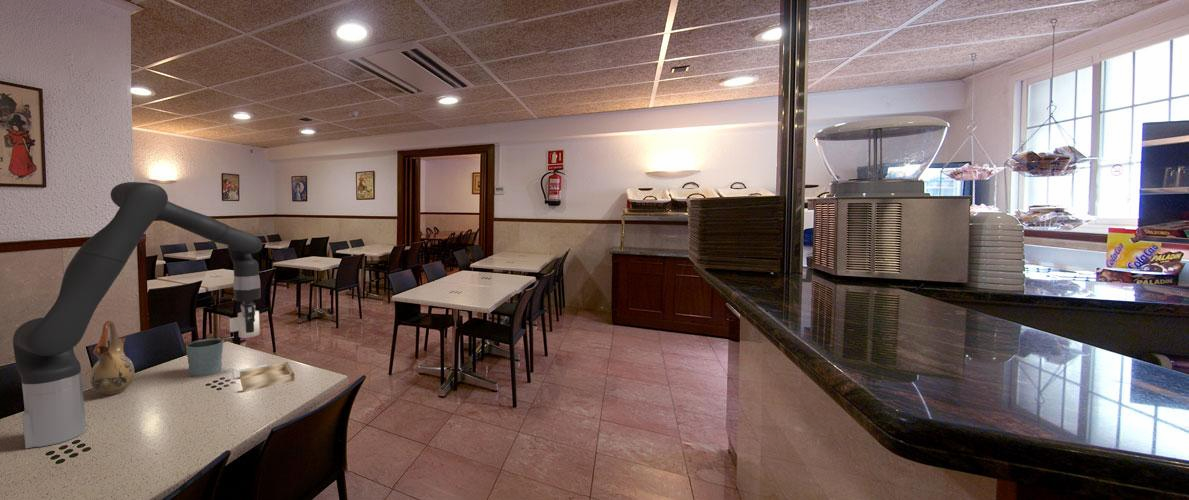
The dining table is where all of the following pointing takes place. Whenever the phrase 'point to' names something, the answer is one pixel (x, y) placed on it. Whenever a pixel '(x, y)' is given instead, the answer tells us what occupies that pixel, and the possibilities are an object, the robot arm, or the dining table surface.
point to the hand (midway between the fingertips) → (249, 330)
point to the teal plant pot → (204, 356)
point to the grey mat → (237, 372)
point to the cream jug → (244, 325)
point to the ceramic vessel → (111, 364)
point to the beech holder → (266, 376)
